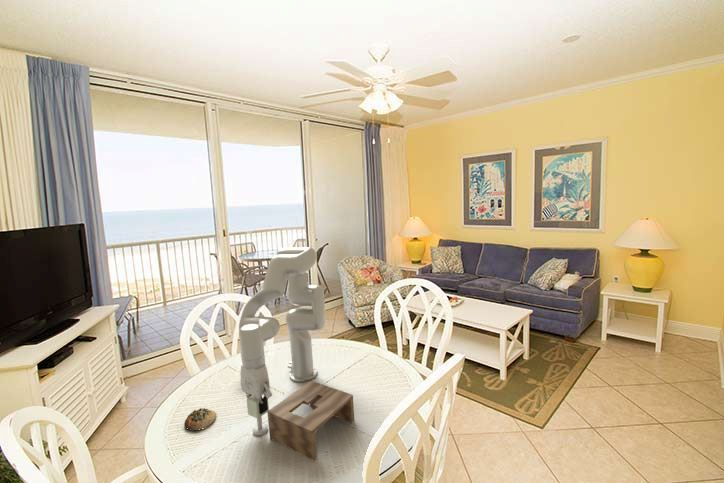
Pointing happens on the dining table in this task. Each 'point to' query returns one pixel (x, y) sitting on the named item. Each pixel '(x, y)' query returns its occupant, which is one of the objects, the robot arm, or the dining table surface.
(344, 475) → the dining table surface
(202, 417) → the bread roll
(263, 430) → the peg
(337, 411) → the keyhole shelf
